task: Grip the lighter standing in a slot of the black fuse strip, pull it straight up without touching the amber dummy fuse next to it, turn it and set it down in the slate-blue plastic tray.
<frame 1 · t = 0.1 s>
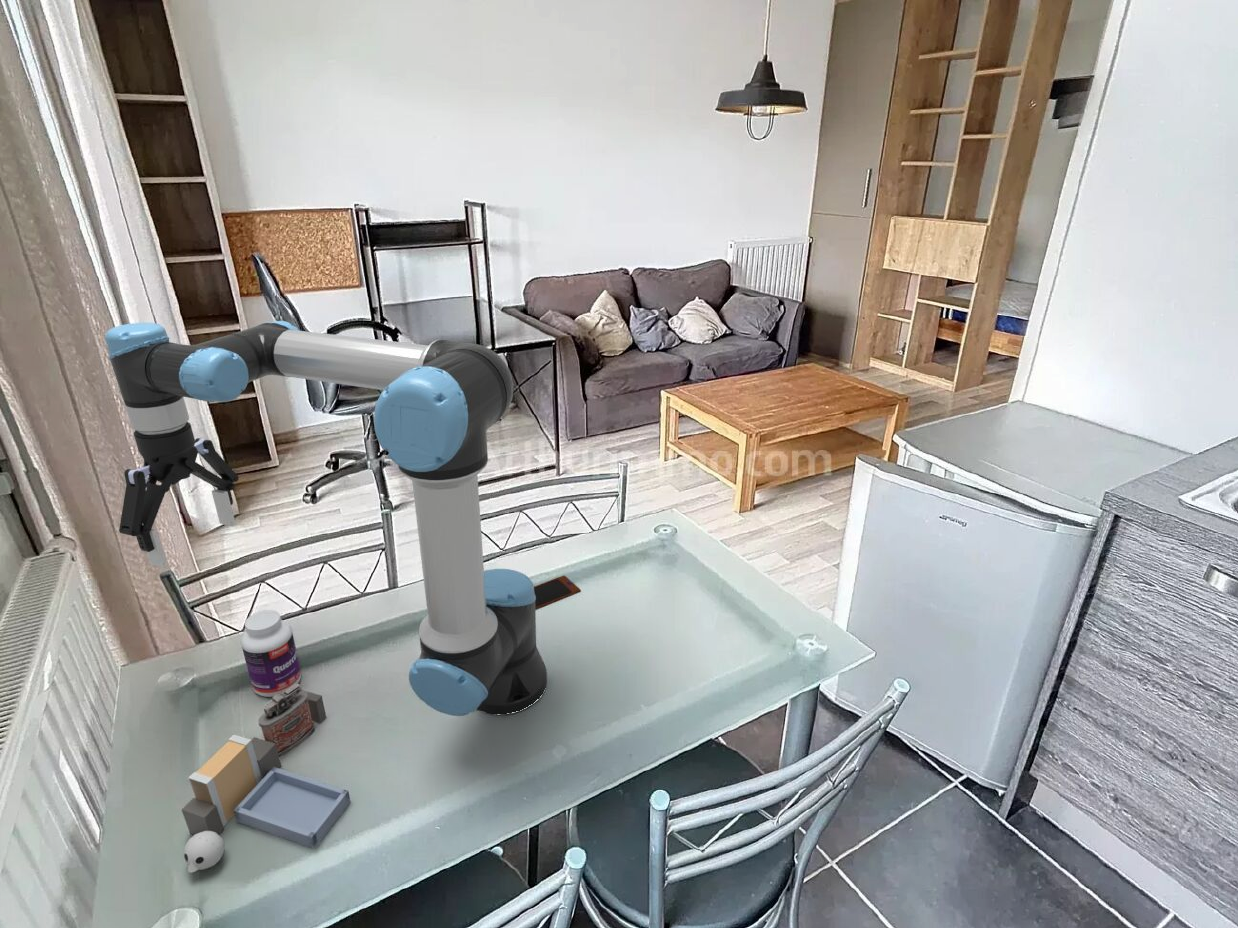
hand: (195, 543, 113), 28 cm above the table, fingers open, 13 cm apart
pill bottle: (278, 684, 123), on the table
figurine: (207, 864, 93), on the table
fuse strip: (264, 770, 106), on the table
tray: (294, 811, 100), on the table
lighter: (292, 742, 112), on the table
smartphone: (544, 597, 149), on the table
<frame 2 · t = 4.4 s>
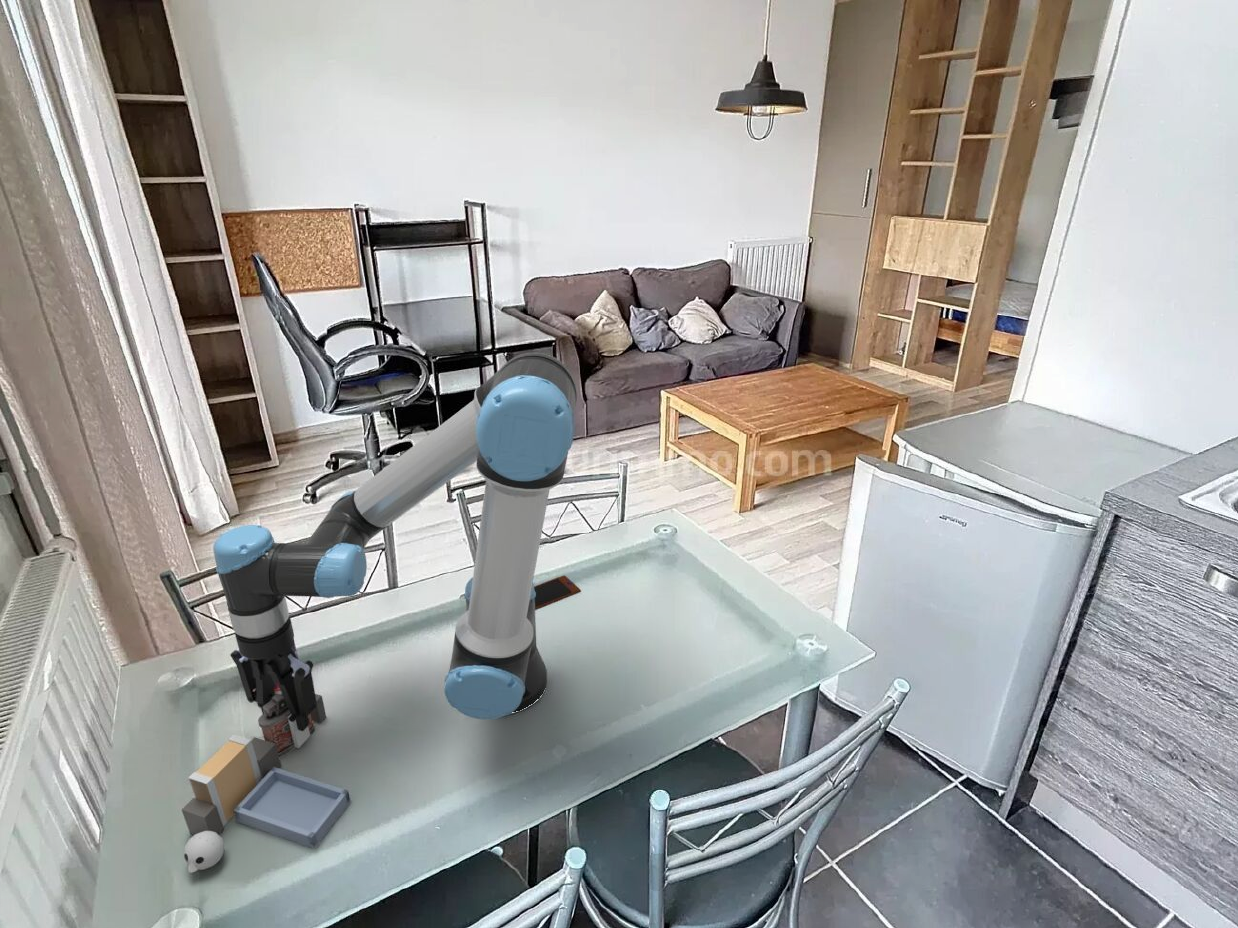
hand: (290, 737, 111), 1 cm above the table, fingers closed on lighter, 4 cm apart
lighter: (292, 742, 112), on the table, touching gripper
everything else where it was.
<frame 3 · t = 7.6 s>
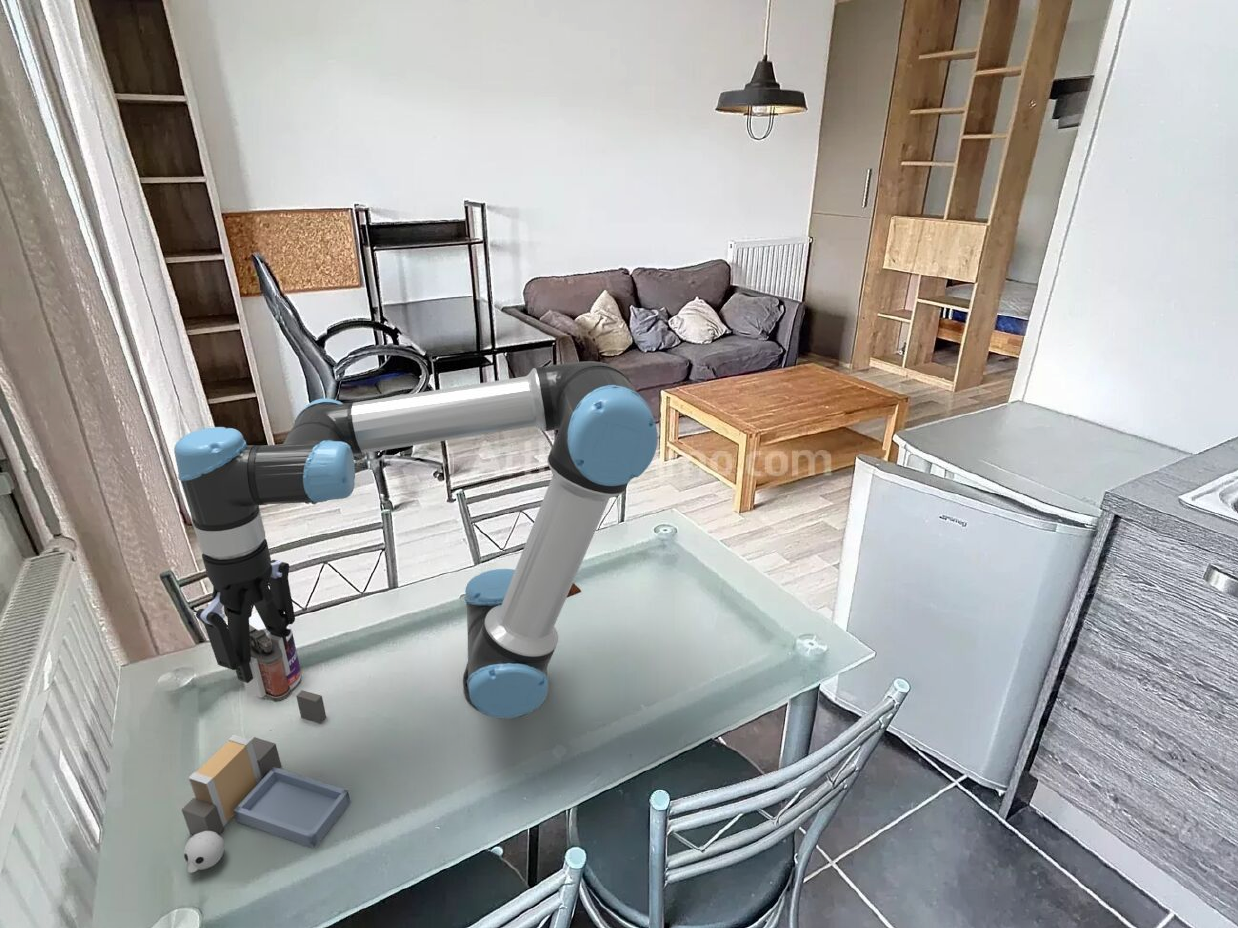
hand: (269, 682, 98), 19 cm above the table, fingers closed on lighter, 4 cm apart
lighter: (270, 687, 98), point 18 cm above the table, touching gripper
everything else where it was.
when the fingers open (4 cm above the table, at t = 11.0 s): lighter drops 2 cm, resting on tray.
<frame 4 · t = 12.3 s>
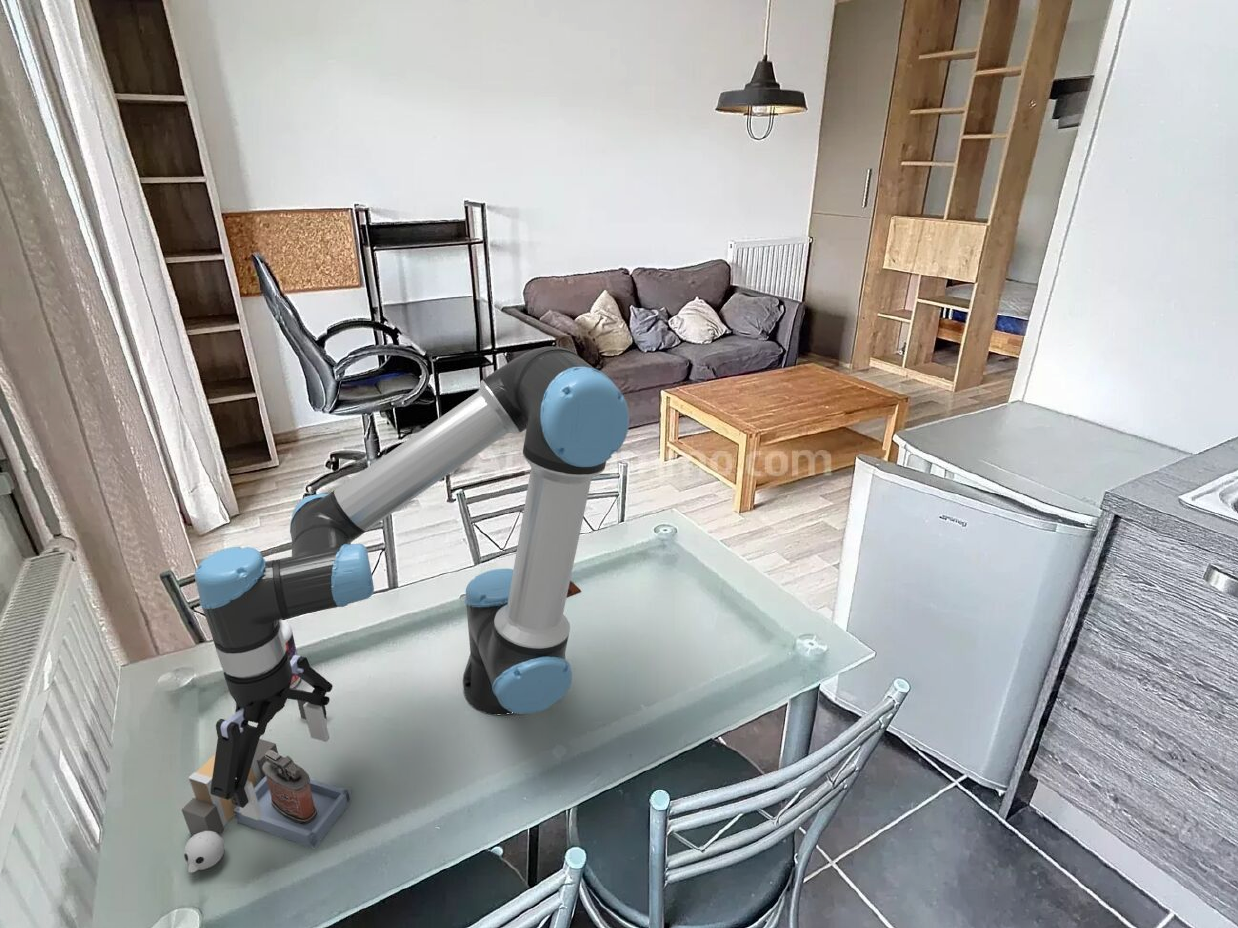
hand: (288, 774, 97), 8 cm above the table, fingers open, 13 cm apart
lighter: (294, 809, 100), resting on tray
everything else where it was.
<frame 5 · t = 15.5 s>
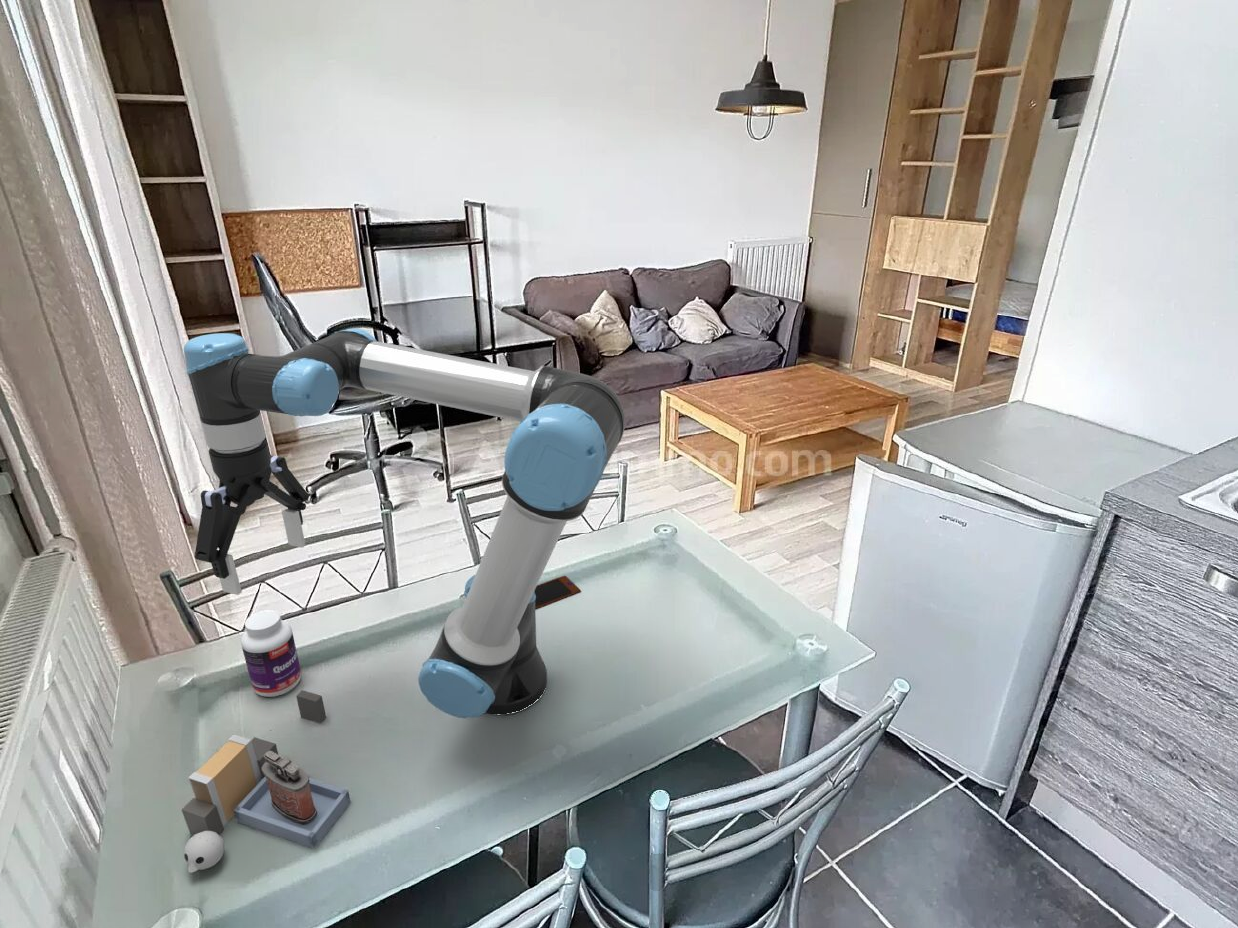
hand: (266, 567, 106), 29 cm above the table, fingers open, 13 cm apart
nothing on the table moved.
at the end: lighter inside the target area on the tray (0.0 cm from its centre), point 0.4 cm above the tray's base; the gripper is holding nothing; lighter inside the target area (2.2 cm from its centre), resting on tray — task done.
